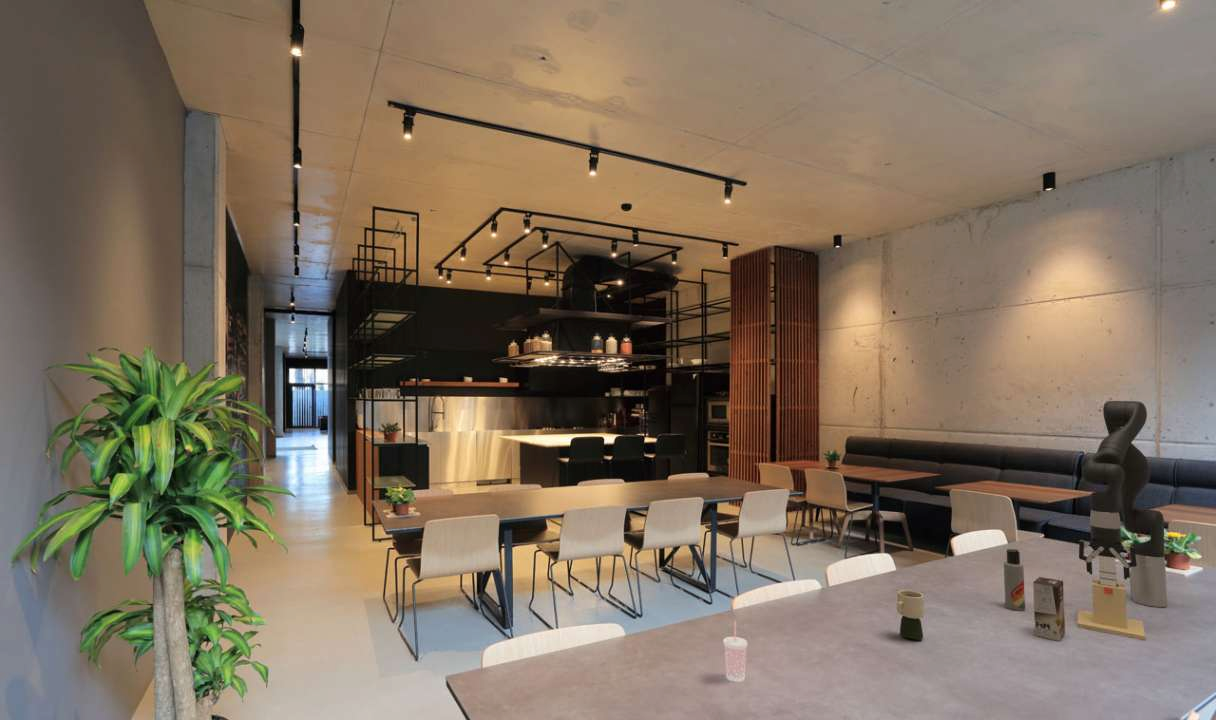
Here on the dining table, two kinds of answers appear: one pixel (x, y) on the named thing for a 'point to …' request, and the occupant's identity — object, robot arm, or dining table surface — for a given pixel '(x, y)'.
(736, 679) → the beverage cup
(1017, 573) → the lotion bottle
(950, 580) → the dining table surface
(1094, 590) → the stand
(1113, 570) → the column
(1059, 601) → the coffee box
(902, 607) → the character mug
